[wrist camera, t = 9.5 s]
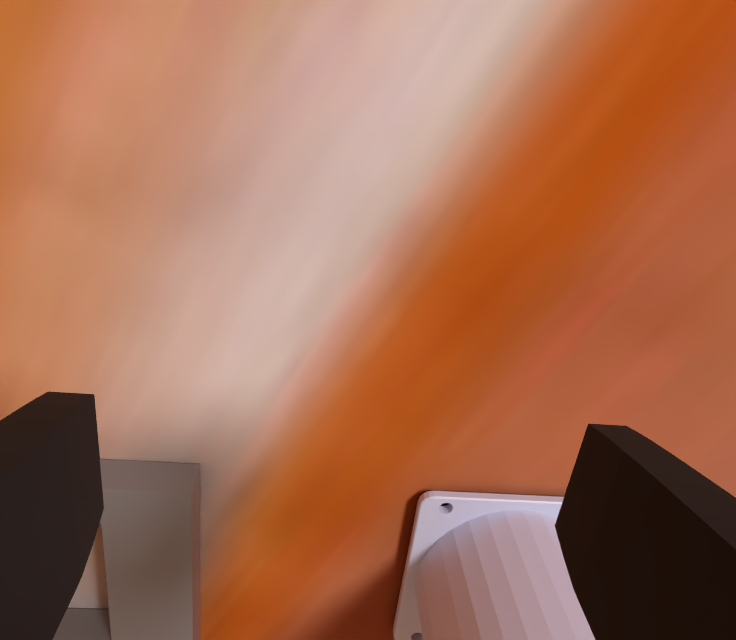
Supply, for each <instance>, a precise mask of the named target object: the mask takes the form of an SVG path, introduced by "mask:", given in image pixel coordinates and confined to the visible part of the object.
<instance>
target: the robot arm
mask: <svg viewBox="0 0 736 640" xmlns="http://www.w3.org/2000/svg"><path fill="white" fill-rule="evenodd" d="M443 503H450V504H448V505H447V506H440V505H442V504H443ZM103 510H104V502H103V490H102V479H101V467H100V456H99V444H98V433H97V421H96V410H95V398H94V394H78V393H61V392H47V393H45V394H43V395H41V396H40V397H38V398H36V399H34V400H33V401H31V402H29V403H28V404H26V405H24V406H23V407H21V408H20V409H18V410H16V411H15V412H13V413H12V414H10V415H8V416H7V417H5V418H4V419H2V420H0V640H53V638H54V636H55V633H56V631H57V629H58V627H59V625H60V623H61V621H62V618H63V616H64V614H65V612H66V610H67V608H68V606H69V603H70V601H71V599H72V597H73V595H74V593H75V590H76V588H77V586H78V584H79V582H80V579H81V577H82V574H83V572H84V569H85V566H86V563H87V560H88V557H89V554H90V551H91V548H92V545H93V542H94V539H95V536H96V532H97V529H98V526H99V523H100V520H101V517H102V513H103ZM393 637H394V640H736V498H735V497H734V496H732V495H731V494H730V493H728V492H727V491H725V490H724V489H722V488H721V487H719V486H718V485H716V484H715V483H713V482H712V481H711V480H709V479H708V478H706V477H705V476H703V475H702V474H700V473H699V472H697V471H696V470H695V469H693V468H692V467H690V466H689V465H687V464H686V463H684V462H683V461H681V460H680V459H678V458H677V457H675V456H674V455H672V454H671V453H669V452H668V451H666V450H665V449H663V448H662V447H660V446H659V445H657V444H656V443H654V442H653V441H651V440H650V439H648V438H646V437H645V436H643V435H641V434H640V433H638V432H636V431H634V430H633V429H631V428H629V427H627V426H618V425H601V424H588V426H587V429H586V432H585V435H584V438H583V441H582V445H581V448H580V451H579V454H578V457H577V460H576V463H575V466H574V469H573V472H572V475H571V478H570V481H569V484H568V487H567V490H566V493H565V496H564V497H558V496H536V495H515V494H493V493H471V492H450V491H428V492H425V493H423V494H422V495H421V496H420V497H419V500H418V503H417V508H416V513H415V519H414V524H413V529H412V534H411V539H410V544H409V549H408V554H407V559H406V564H405V569H404V574H403V579H402V585H401V590H400V595H399V600H398V605H397V610H396V615H395V620H394V625H393Z"/></svg>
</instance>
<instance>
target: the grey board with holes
mask: <svg viewBox="0 0 736 640" xmlns="http://www.w3.org/2000/svg"><path fill="white" fill-rule="evenodd" d="M100 467H101V479H102V490H103V502H104V510H103V513H102V517H101V520H100V523H99V524H101V527H102V539H103V550H104V561H105V572H106V584H107V595H108V606H109V609H71V608H67V610H66V612H65V614H64V616H63V618H62V621H61V623H60V625H59V627H58V629H57V631H56V633H55V636H54V638H53V640H200V464H189V463H169V462H149V461H128V460H108V459H100Z"/></svg>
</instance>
